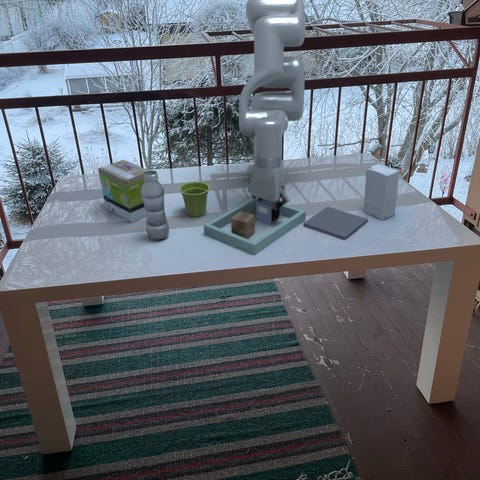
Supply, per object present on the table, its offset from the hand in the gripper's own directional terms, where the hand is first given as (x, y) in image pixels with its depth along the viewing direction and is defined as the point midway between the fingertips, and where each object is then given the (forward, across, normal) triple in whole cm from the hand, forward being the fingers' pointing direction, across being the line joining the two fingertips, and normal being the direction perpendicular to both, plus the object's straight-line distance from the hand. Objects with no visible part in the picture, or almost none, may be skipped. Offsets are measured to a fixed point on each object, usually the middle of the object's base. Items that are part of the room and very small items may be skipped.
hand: (267, 216), depth 145 cm
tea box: (+1, -39, -22) cm, 45 cm away
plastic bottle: (+1, -19, -28) cm, 34 cm away
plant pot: (+1, -21, -10) cm, 23 cm away
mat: (+1, +18, +10) cm, 21 cm away
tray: (+1, 0, -6) cm, 6 cm away
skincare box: (+1, +25, +24) cm, 35 cm away
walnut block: (+1, 0, -12) cm, 12 cm away
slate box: (+1, 0, 0) cm, 1 cm away
